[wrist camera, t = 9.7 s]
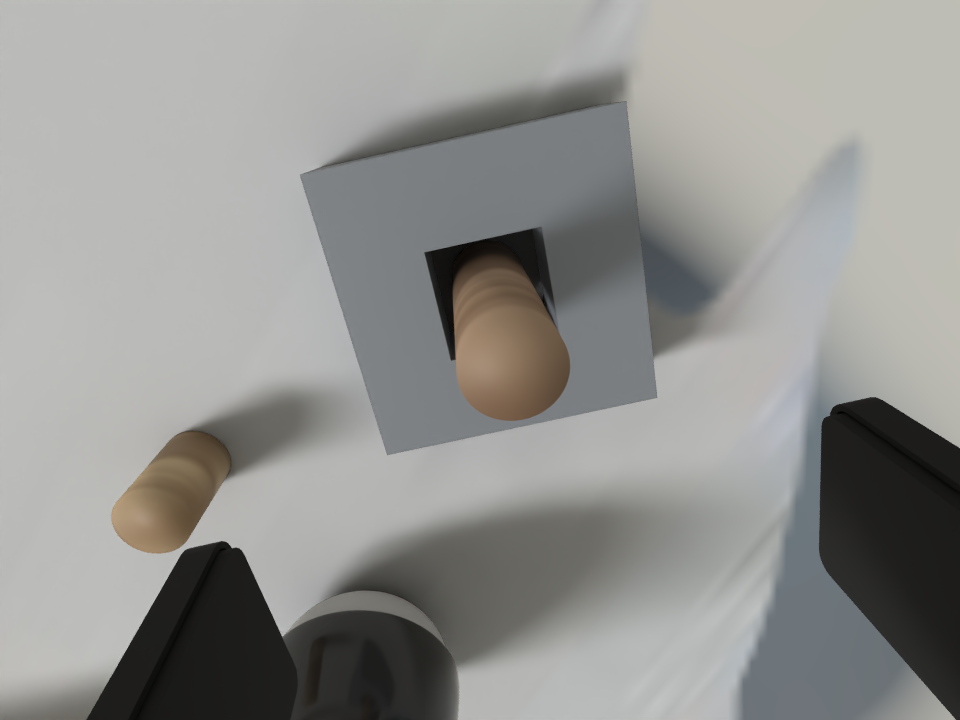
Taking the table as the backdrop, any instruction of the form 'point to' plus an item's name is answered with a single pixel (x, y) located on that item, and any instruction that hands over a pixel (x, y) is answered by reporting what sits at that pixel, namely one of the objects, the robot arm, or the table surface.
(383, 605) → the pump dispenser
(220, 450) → the short pin
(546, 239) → the block
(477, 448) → the table surface
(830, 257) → the table surface
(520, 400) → the long pin
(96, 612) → the table surface
